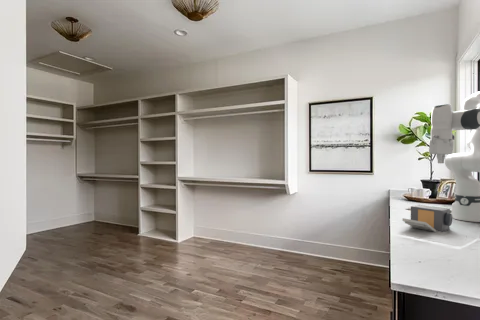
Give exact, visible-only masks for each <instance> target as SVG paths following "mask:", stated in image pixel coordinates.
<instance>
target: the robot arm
mask: <svg viewBox="0 0 480 320" xmlns="http://www.w3.org/2000/svg"><path fill="white" fill-rule="evenodd" d="M461 109H462V110H458V111H454V110H453V109H452V104H450V103H445V104H439V105H435V106H434V107H432V109H431V116H430V117H431V118H430V122H431V129H430V141H429V147H428V152H429V155H436V159H437V163H438V164H444V165H445V167H446V168H447V169H448V170H449V171H450V172H451V173H452V175H453V177H454V180H455V196H454V202H453V203H452V204H451V211H450V213H451V214H452V219H455V220H458V221H463V222H471V223H472V222H475V223H480V181H479V180H478V179H477V178H475V177H474V176H473V174H472V173H480V91H477V92H474V93H472V94H470V95H469V96H468V97H466V98H465V99H464V100H463V101H462V104H461ZM465 130H467V131H468V130H469V131H470V130H471V132H470V134H469V136H468V138H467V139H466V145H467V147H468V148H469V149H470V151H469V152H455V153H453V152H454V140H455V138H456V137H455V135H454V133H453V131H465ZM446 155H447V156H446Z"/></svg>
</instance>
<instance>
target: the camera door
mask: <svg viewBox="0 0 480 320" xmlns="http://www.w3.org/2000/svg"><path fill="white" fill-rule="evenodd" d="M401 220H402V221H403V222H404V224H407V225H408V226H410V227H411V228H413V229H419V230H424V231H427V232H429V231H430V232H434V233H435V232H438V231H437V230H435V229H434V228H433V227H431V226H430V225H429V224H428V223H426V222H421V221H415V220H411V218H409V219H408V218H402V219H401Z"/></svg>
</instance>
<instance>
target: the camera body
mask: <svg viewBox="0 0 480 320" xmlns="http://www.w3.org/2000/svg"><path fill="white" fill-rule="evenodd" d="M410 220H415V221H421V222H426V223H428V224H429V225H430V226H431V227H433V228H434V229H435V230H437V231H436V232H440V233H442V232H446V231H449V230H450V226H451V225H452V224H453V223H452V222H453V218H452V214H451V210H450V208H445V207H439V206H433V207H432V205H423V204H416V205H412V206H410Z"/></svg>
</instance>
